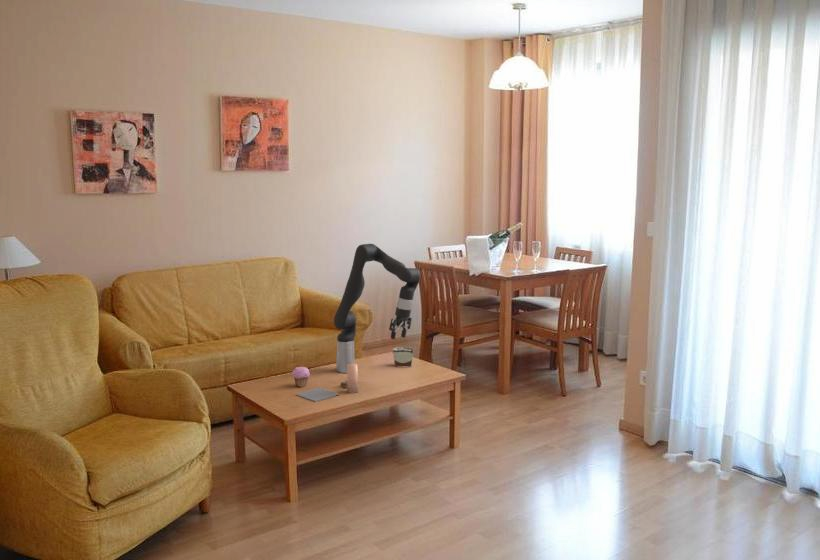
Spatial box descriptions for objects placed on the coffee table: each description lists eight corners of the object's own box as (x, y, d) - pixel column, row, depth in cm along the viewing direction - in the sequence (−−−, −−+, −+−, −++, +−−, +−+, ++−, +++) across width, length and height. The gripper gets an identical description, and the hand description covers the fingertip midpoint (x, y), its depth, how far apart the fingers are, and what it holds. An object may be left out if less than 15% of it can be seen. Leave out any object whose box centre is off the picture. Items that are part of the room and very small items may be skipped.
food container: (414, 364, 416) (415, 347, 414) (413, 367, 410) (414, 349, 408) (393, 363, 417) (393, 346, 415) (392, 366, 411) (392, 349, 409)
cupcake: (289, 385, 375) (288, 366, 373) (302, 382, 381) (302, 363, 380) (299, 389, 369) (299, 370, 367) (313, 385, 375) (313, 367, 373)
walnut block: (340, 386, 374) (340, 382, 374) (347, 384, 378) (347, 380, 378) (347, 388, 371) (347, 384, 371) (354, 386, 375) (354, 382, 374)
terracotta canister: (345, 391, 366) (345, 364, 364) (353, 389, 369) (352, 362, 367) (352, 393, 362) (352, 366, 360) (360, 391, 366) (359, 364, 364)
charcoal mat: (296, 395, 360) (296, 394, 360) (319, 388, 370) (319, 387, 370) (315, 402, 349) (315, 400, 349) (339, 395, 360) (339, 393, 360)
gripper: (406, 304, 372) (400, 334, 375) (389, 305, 360) (383, 337, 363) (418, 308, 368) (412, 339, 371) (401, 310, 356) (394, 341, 359)
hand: (397, 338), depth 367 cm, fingers open, 8 cm apart
